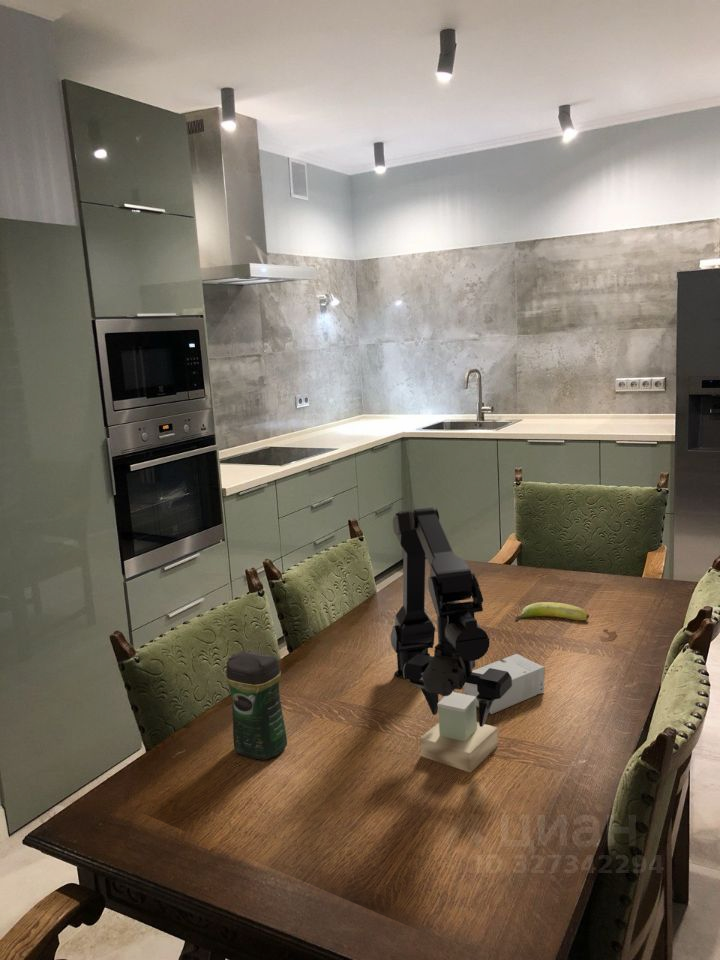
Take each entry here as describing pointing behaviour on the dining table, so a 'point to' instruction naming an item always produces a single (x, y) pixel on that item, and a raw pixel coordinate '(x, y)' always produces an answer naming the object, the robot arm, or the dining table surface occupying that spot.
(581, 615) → the green-yellow banana
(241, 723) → the coffee jar
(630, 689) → the dining table surface
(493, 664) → the skincare box
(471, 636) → the robot arm
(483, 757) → the beech box
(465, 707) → the tea tin
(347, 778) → the dining table surface
